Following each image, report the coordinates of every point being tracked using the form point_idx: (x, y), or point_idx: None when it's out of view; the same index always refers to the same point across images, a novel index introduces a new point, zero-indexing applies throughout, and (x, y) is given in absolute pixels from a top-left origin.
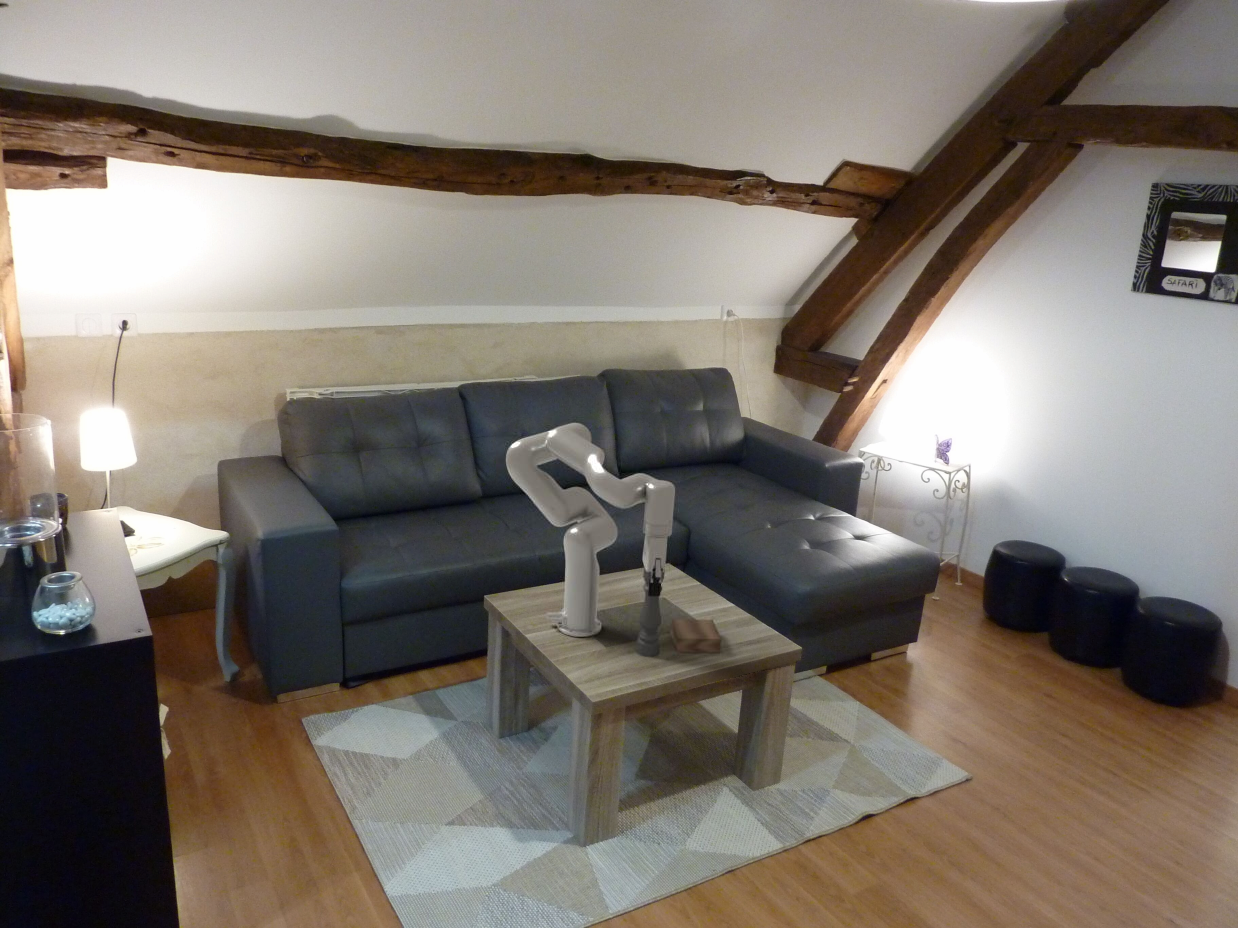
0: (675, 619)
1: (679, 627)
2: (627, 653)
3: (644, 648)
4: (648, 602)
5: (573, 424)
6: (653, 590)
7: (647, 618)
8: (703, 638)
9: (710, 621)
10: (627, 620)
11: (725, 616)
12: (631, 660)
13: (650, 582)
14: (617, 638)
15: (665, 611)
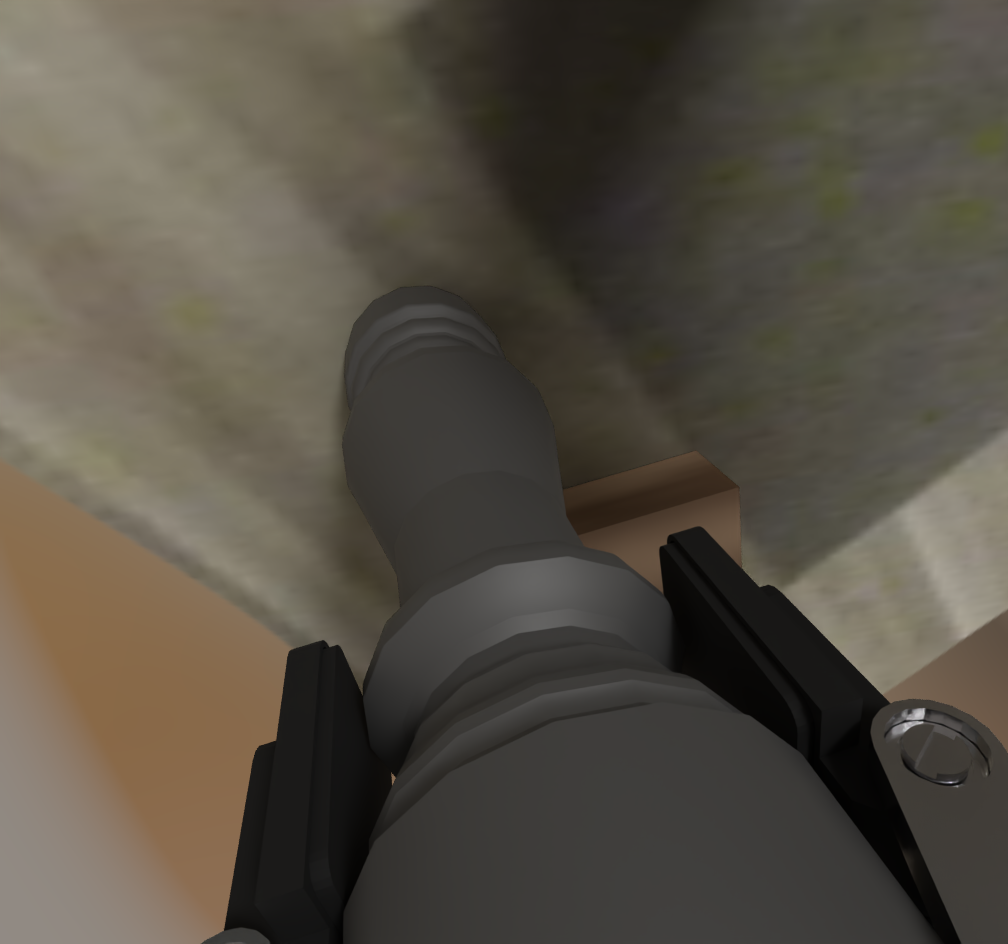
0: (737, 508)
1: (631, 547)
2: (344, 227)
3: (346, 361)
4: (401, 540)
5: None
6: (258, 810)
7: (356, 461)
8: None
9: None
10: (838, 163)
11: (869, 649)
12: (246, 271)
13: (224, 936)
14: (560, 118)
15: (942, 387)
